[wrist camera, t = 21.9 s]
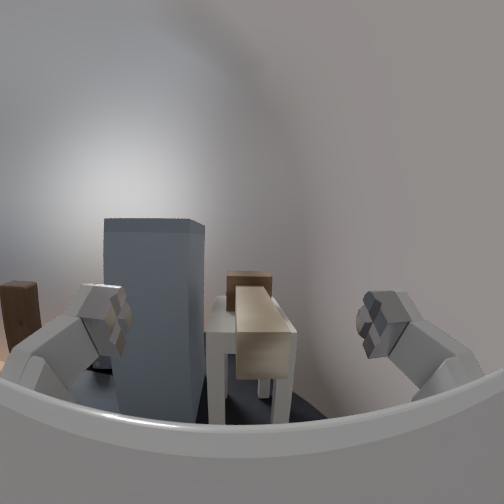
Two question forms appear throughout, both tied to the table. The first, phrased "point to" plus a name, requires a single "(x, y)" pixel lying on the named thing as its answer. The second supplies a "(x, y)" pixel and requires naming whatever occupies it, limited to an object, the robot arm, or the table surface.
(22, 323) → the wooden block
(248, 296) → the long tan plank
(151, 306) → the tall blue-grey box
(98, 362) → the label tape box
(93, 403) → the table surface
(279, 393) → the stool
